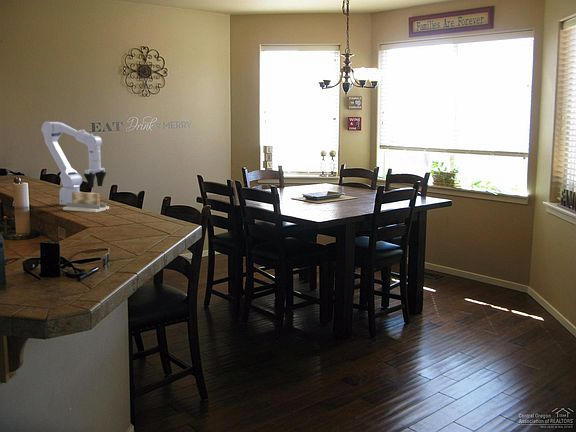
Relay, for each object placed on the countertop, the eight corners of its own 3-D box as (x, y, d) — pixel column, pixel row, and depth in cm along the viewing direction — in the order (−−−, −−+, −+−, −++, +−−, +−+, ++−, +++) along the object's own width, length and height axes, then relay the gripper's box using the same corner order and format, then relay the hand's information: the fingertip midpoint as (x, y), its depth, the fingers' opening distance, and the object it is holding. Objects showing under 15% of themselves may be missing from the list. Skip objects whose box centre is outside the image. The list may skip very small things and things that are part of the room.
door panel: (72, 206, 294) (71, 192, 293) (74, 205, 297) (74, 191, 295) (97, 208, 291) (97, 193, 290) (99, 207, 293) (99, 193, 292)
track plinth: (63, 209, 290) (62, 203, 290) (77, 206, 302) (77, 200, 301) (95, 212, 286) (95, 206, 286) (109, 208, 297) (109, 202, 297)
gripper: (93, 161, 294) (94, 188, 296) (109, 159, 307) (110, 185, 309) (80, 160, 295) (81, 188, 298) (97, 159, 309) (98, 185, 311)
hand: (95, 186), depth 304 cm, fingers open, 7 cm apart
